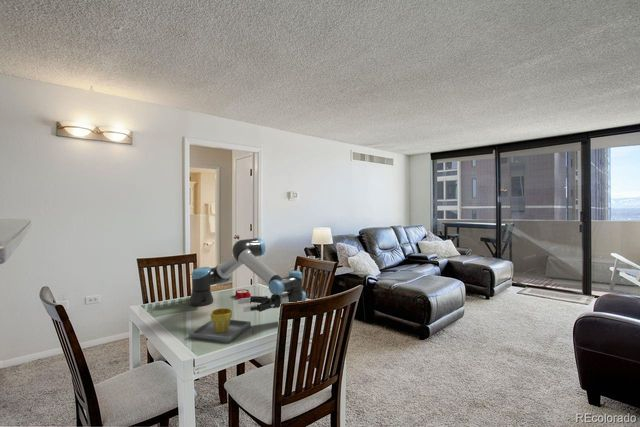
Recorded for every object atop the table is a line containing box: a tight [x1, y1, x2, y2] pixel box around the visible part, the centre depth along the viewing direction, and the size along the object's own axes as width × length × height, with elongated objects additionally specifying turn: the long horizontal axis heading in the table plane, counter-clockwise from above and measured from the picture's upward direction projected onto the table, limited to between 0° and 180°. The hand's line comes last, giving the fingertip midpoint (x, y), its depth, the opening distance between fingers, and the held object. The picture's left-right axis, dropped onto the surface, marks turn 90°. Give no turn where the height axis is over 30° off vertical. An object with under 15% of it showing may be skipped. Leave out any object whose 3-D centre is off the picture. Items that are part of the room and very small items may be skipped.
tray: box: [189, 319, 252, 344], centre depth 164 cm, size 22×22×2 cm
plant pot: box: [210, 307, 233, 333], centre depth 164 cm, size 10×10×10 cm
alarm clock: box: [234, 289, 252, 300], centre depth 227 cm, size 10×6×15 cm
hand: (240, 305), depth 168 cm, fingers open, 13 cm apart
